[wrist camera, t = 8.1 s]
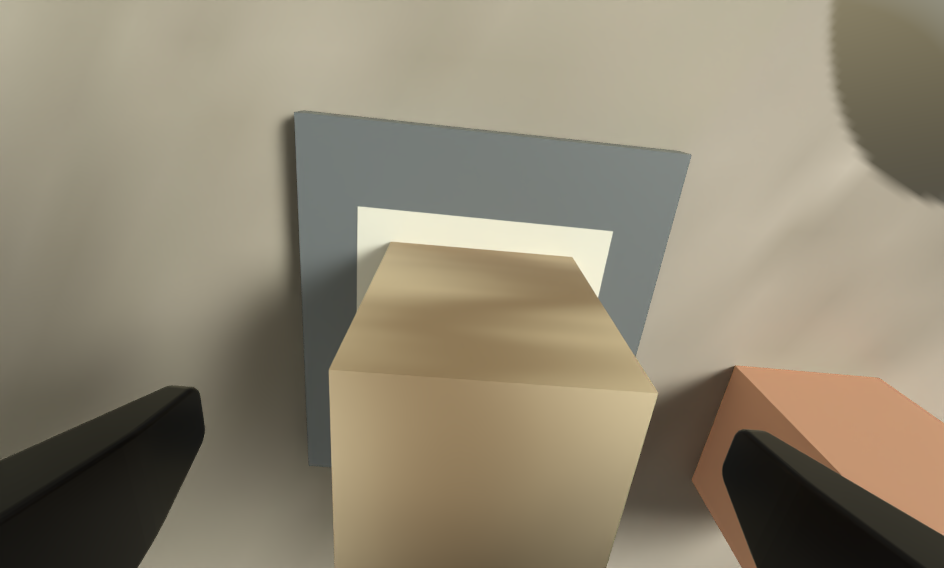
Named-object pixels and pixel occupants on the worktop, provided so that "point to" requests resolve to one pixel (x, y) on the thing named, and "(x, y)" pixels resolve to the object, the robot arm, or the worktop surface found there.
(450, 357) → the oak block
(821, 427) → the terracotta block
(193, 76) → the worktop surface
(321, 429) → the grey framed square tile
